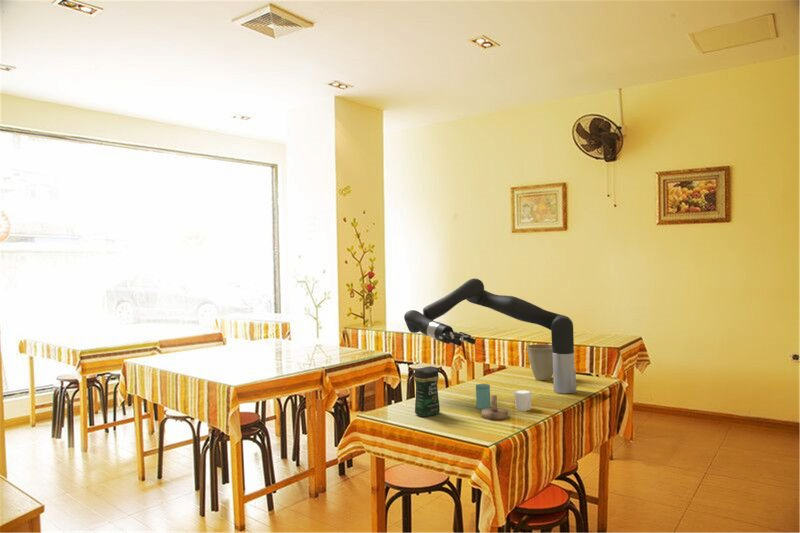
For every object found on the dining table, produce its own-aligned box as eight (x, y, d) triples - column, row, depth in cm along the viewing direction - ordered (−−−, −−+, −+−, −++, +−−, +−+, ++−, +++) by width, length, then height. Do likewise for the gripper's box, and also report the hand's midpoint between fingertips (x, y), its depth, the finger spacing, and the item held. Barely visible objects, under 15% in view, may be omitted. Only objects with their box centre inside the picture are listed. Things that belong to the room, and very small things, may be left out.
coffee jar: (425, 418, 220) (423, 370, 219) (412, 414, 226) (410, 367, 226) (443, 413, 226) (441, 366, 226) (430, 409, 232) (428, 364, 232)
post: (507, 412, 223) (506, 392, 223) (509, 420, 213) (508, 398, 213) (481, 412, 224) (480, 392, 224) (482, 420, 215) (481, 399, 214)
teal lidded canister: (490, 405, 235) (489, 383, 235) (490, 409, 229) (489, 386, 229) (476, 405, 235) (475, 383, 235) (476, 409, 230) (475, 386, 230)
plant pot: (557, 383, 269) (556, 349, 268) (525, 381, 274) (524, 348, 274) (560, 376, 283) (559, 344, 282) (530, 375, 288) (529, 343, 288)
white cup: (522, 412, 223) (521, 394, 223) (510, 408, 229) (510, 391, 229) (535, 409, 226) (535, 392, 226) (524, 405, 232) (523, 388, 232)
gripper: (429, 324, 241) (458, 335, 229) (452, 322, 251) (480, 332, 239) (426, 341, 242) (455, 353, 231) (449, 338, 252) (477, 350, 240)
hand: (468, 342), depth 235 cm, fingers open, 8 cm apart
